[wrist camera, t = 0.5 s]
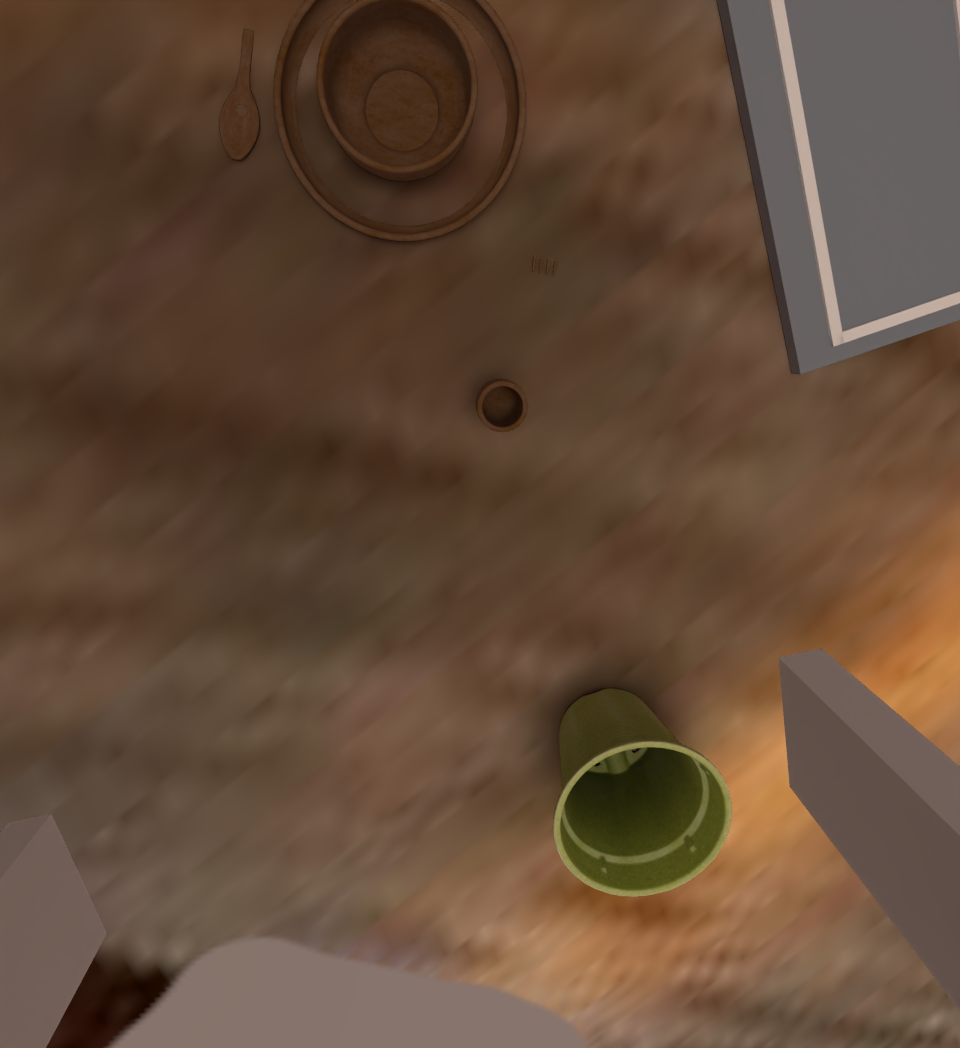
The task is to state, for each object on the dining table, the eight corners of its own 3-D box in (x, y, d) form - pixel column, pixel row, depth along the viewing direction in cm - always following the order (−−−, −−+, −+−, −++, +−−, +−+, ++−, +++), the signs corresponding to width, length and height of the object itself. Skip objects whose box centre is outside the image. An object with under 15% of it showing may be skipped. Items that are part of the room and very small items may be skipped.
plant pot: (507, 766, 45) (524, 867, 36) (570, 641, 42) (602, 718, 34) (636, 809, 46) (680, 916, 38) (703, 691, 44) (765, 777, 36)
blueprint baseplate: (680, -184, 31) (689, -203, 30) (959, -288, 31) (979, -312, 30) (791, 373, 39) (802, 374, 37) (1019, 294, 38) (1037, 294, 37)
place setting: (604, 23, 34) (637, -37, 28) (522, 426, 39) (536, 443, 34) (239, -67, 32) (197, -151, 26) (204, 368, 37) (163, 376, 32)
